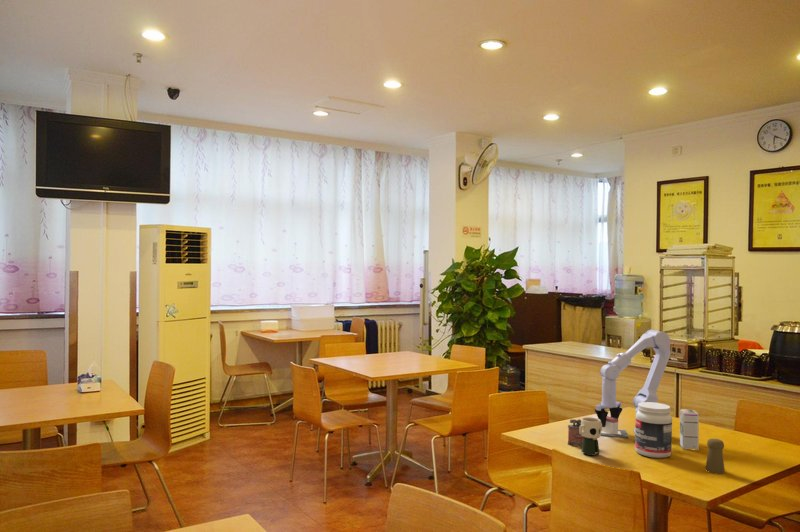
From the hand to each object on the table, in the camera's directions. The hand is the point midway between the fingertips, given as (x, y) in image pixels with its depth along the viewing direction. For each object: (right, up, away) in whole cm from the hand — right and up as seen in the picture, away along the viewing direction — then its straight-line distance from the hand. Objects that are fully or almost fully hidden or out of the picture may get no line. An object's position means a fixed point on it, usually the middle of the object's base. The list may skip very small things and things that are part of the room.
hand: (608, 425), depth 253 cm
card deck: (0, -3, 0) cm, 3 cm away
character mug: (-17, -3, -30) cm, 34 cm away
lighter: (-18, -3, -18) cm, 26 cm away
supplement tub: (+7, -4, -28) cm, 29 cm away
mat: (0, -3, 0) cm, 3 cm away
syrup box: (+25, -4, -19) cm, 32 cm away
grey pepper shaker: (+21, -4, -46) cm, 51 cm away
